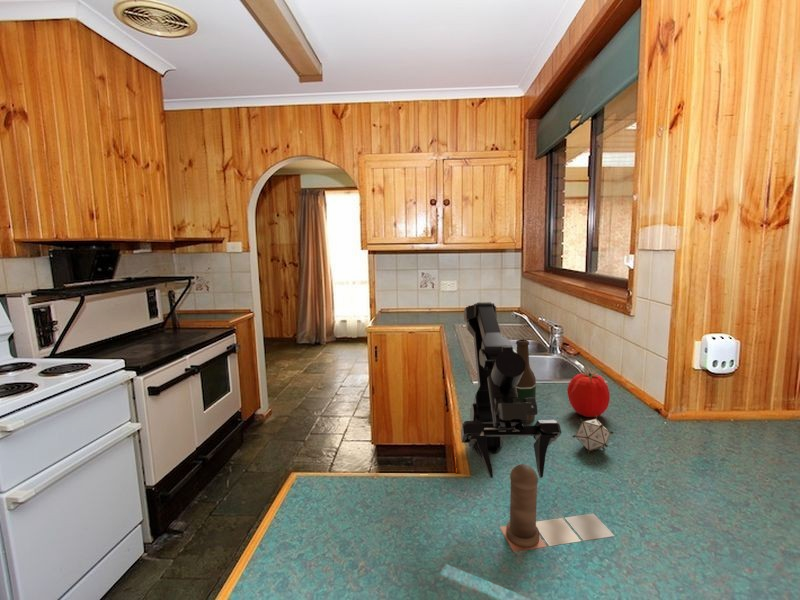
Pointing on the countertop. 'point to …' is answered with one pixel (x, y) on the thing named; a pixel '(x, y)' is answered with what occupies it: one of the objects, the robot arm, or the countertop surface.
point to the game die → (592, 434)
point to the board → (566, 531)
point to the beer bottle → (526, 376)
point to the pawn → (523, 507)
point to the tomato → (588, 394)
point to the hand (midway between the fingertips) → (516, 477)
